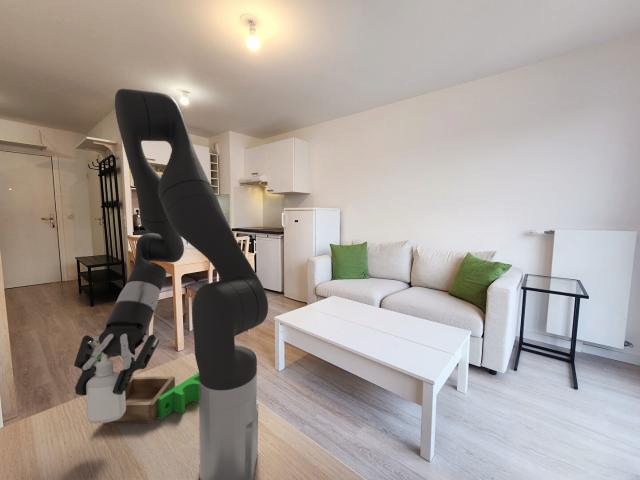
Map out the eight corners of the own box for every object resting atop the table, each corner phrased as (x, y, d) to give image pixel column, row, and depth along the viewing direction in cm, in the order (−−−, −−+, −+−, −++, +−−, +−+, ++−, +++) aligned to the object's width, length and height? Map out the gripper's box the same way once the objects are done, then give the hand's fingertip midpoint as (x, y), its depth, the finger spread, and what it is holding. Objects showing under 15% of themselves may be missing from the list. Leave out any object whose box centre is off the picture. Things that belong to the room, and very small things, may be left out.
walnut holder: (174, 391, 68) (174, 376, 67) (153, 422, 58) (153, 404, 57) (132, 392, 67) (131, 376, 66) (102, 423, 57) (102, 405, 57)
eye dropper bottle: (106, 429, 49) (102, 364, 48) (84, 421, 51) (80, 359, 50) (129, 412, 53) (127, 352, 52) (108, 406, 55) (105, 347, 54)
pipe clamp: (169, 424, 58) (169, 403, 57) (157, 418, 59) (157, 398, 59) (211, 392, 68) (210, 375, 68) (199, 388, 70) (199, 371, 69)
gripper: (90, 299, 57) (41, 390, 46) (163, 299, 58) (131, 388, 47) (109, 314, 63) (69, 399, 52) (175, 314, 64) (149, 397, 53)
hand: (99, 393), depth 50 cm, fingers closed on eye dropper bottle, 5 cm apart
